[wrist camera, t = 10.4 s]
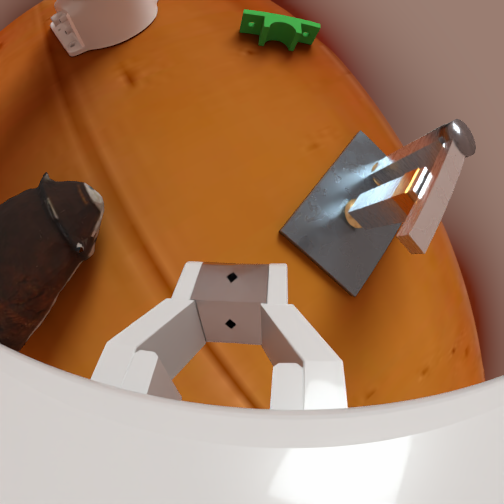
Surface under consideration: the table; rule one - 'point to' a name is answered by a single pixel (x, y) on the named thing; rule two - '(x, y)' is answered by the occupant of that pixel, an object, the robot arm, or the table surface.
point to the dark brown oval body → (42, 251)
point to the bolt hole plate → (341, 219)
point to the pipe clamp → (278, 28)
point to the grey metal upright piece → (428, 178)
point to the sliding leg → (389, 200)
